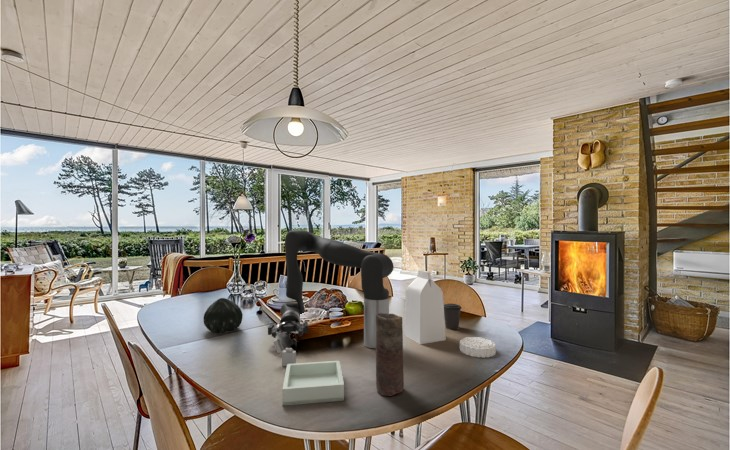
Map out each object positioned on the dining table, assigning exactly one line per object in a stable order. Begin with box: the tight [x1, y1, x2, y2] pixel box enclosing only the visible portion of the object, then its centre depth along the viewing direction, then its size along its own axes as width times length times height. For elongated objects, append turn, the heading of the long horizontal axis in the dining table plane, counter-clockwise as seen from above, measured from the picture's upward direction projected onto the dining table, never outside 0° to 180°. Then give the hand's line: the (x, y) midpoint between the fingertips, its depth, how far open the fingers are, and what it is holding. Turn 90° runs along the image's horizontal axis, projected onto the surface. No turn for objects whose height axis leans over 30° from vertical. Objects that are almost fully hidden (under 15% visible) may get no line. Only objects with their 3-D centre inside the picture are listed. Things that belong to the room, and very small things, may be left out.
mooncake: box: [459, 336, 497, 359], centre depth 116 cm, size 12×12×4 cm
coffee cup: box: [444, 303, 462, 330], centre depth 143 cm, size 8×8×10 cm
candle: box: [375, 313, 405, 397], centre depth 88 cm, size 8×7×20 cm
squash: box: [203, 297, 244, 335], centre depth 138 cm, size 14×15×15 cm
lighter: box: [272, 338, 297, 367], centre depth 105 cm, size 7×2×8 cm, turn 78°
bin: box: [281, 360, 345, 407], centre depth 89 cm, size 15×15×4 cm
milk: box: [403, 269, 446, 345], centre depth 130 cm, size 12×12×26 cm
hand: (287, 334), depth 115 cm, fingers open, 8 cm apart
